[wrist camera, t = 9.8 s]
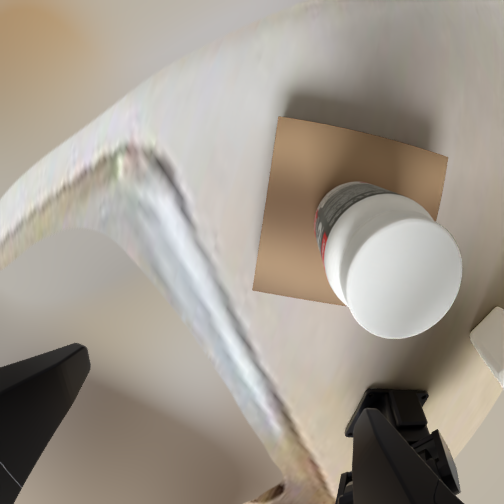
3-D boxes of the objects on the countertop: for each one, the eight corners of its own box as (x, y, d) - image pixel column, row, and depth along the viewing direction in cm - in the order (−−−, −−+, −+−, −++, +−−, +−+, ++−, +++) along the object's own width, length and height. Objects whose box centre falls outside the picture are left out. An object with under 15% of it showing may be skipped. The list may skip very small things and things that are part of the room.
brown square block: (394, 295, 20) (407, 314, 17) (258, 272, 21) (252, 290, 18) (427, 156, 17) (448, 157, 14) (280, 122, 18) (278, 116, 15)
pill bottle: (296, 213, 16) (298, 266, 8) (366, 164, 15) (432, 171, 7) (343, 280, 17) (375, 372, 9) (409, 234, 16) (486, 295, 8)
